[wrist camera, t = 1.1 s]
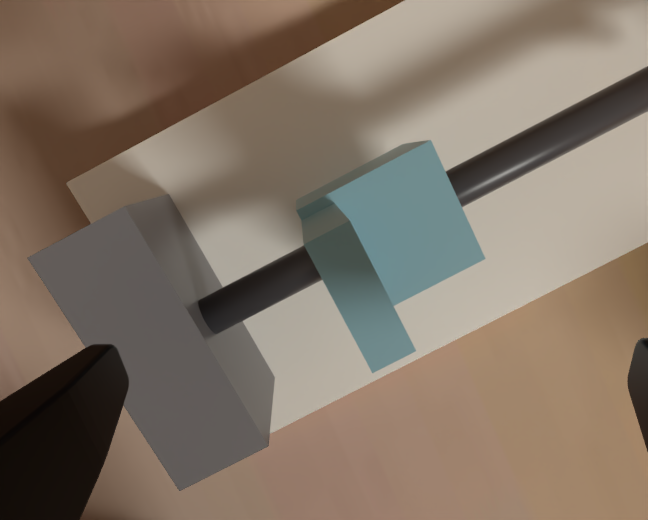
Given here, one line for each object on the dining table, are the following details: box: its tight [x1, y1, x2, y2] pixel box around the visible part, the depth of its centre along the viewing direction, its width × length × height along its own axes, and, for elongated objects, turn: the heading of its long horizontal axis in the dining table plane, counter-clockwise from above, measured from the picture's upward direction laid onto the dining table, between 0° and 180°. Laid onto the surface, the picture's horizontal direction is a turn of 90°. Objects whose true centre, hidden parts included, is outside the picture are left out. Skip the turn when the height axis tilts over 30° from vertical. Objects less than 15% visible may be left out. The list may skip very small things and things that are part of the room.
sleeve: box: [296, 140, 486, 373], centre depth 14 cm, size 4×4×8 cm
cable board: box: [28, 0, 648, 491], centre depth 17 cm, size 26×12×8 cm, turn 117°
